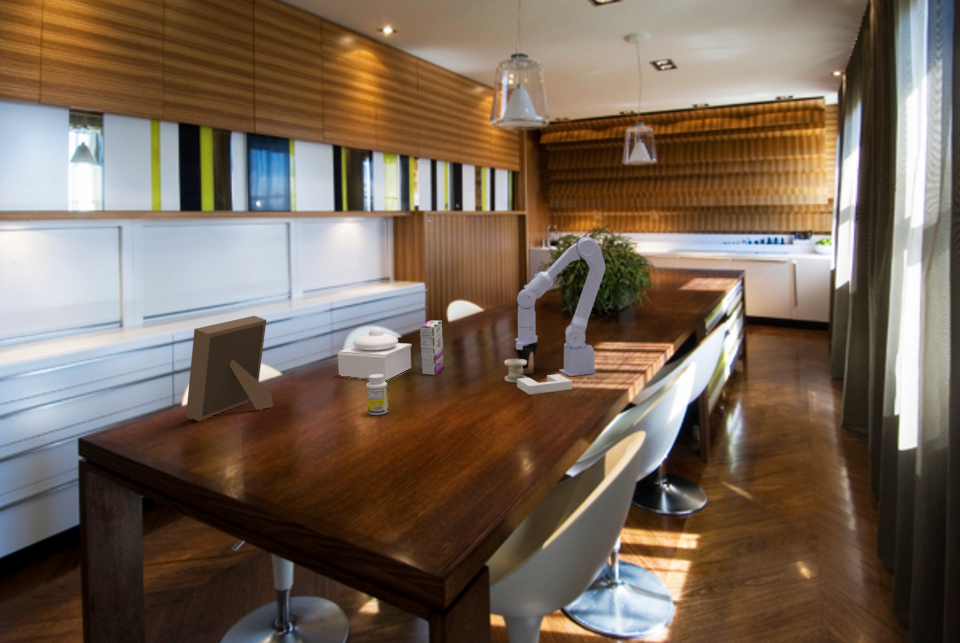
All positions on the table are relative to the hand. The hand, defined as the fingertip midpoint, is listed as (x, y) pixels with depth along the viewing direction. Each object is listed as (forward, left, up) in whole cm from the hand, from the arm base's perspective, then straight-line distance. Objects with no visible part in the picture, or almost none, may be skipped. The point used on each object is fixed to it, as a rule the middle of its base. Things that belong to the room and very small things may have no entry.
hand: (527, 366), depth 214 cm
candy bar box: (+28, -15, -2) cm, 32 cm away
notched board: (+3, +20, -2) cm, 20 cm away
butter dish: (+46, -20, -2) cm, 50 cm away
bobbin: (+7, +7, -2) cm, 10 cm away
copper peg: (0, 0, -2) cm, 2 cm away
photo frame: (+90, +6, -2) cm, 90 cm away
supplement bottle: (+54, +23, -2) cm, 59 cm away
